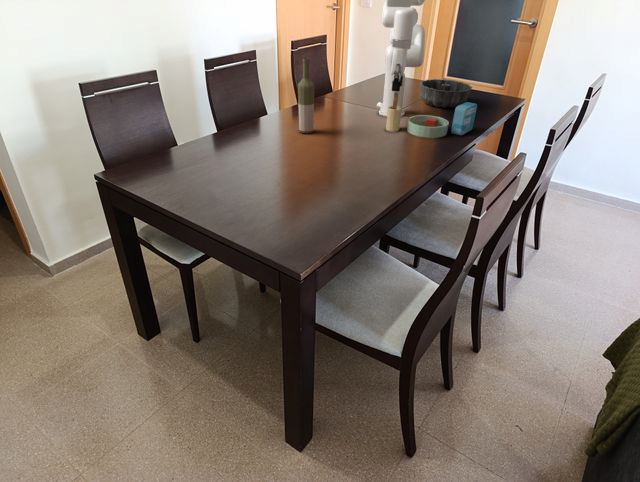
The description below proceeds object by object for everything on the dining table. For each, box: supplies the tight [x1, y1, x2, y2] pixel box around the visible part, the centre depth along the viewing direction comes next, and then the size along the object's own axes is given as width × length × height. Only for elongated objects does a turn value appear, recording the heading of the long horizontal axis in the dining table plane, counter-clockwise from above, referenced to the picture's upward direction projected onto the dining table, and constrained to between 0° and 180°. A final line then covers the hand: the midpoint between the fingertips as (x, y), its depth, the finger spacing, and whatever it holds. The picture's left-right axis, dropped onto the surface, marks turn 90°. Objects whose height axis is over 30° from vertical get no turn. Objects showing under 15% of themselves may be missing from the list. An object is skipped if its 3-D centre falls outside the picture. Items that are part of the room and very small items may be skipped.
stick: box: [393, 92, 398, 109], centre depth 185 cm, size 2×2×16 cm
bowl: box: [406, 114, 449, 139], centre depth 187 cm, size 17×17×5 cm
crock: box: [385, 106, 403, 132], centre depth 187 cm, size 6×6×10 cm
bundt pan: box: [419, 78, 473, 109], centre depth 225 cm, size 26×26×10 cm
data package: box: [450, 101, 478, 137], centre depth 186 cm, size 12×4×12 cm, turn 138°
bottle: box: [297, 57, 315, 134], centre depth 179 cm, size 7×7×30 cm
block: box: [425, 118, 438, 127], centre depth 191 cm, size 4×4×4 cm
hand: (396, 88), depth 180 cm, fingers open, 9 cm apart
